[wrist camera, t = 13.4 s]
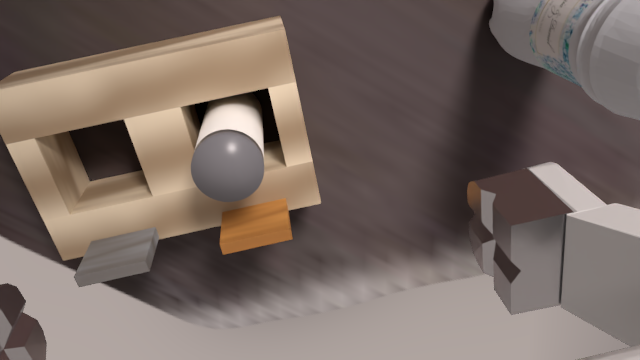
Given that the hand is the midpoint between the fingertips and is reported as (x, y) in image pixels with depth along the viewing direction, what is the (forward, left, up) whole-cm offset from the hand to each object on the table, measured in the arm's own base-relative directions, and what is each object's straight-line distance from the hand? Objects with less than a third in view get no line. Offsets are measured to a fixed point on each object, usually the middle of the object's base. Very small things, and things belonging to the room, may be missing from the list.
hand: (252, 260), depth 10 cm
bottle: (+4, +19, -29) cm, 35 cm away
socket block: (+7, -7, -29) cm, 30 cm away
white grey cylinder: (+7, -3, -29) cm, 30 cm away
